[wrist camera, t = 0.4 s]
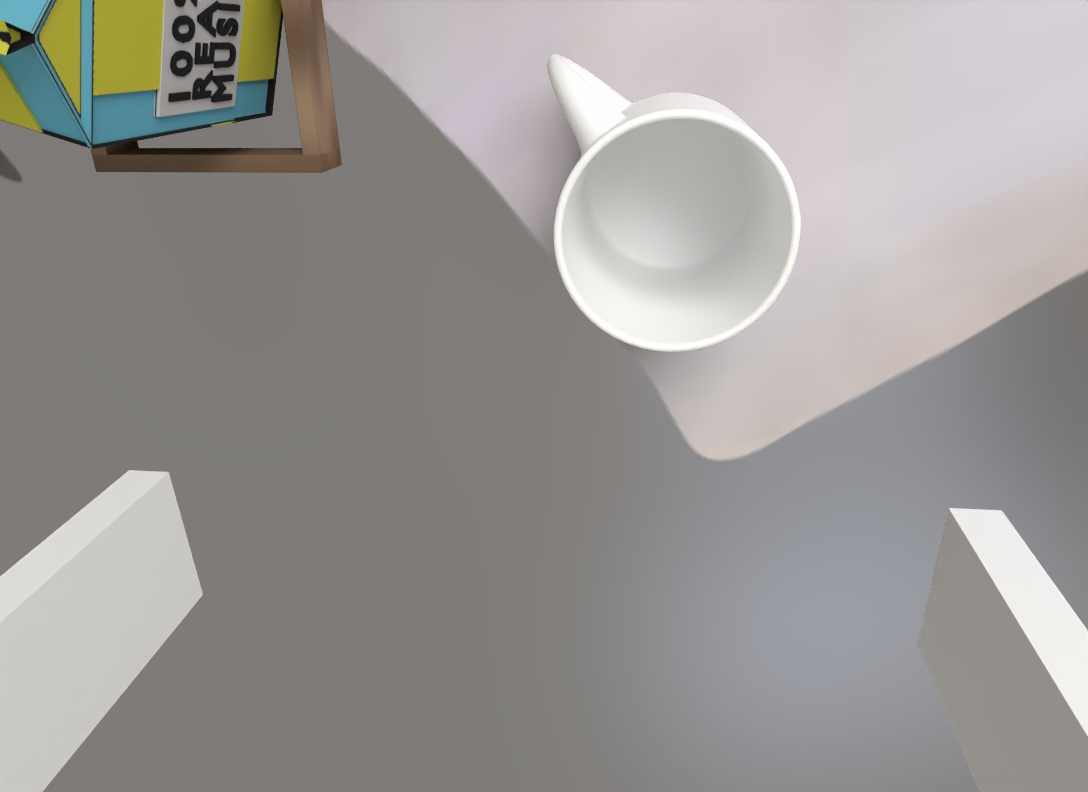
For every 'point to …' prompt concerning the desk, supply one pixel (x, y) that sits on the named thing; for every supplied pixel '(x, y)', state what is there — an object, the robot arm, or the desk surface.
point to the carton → (136, 66)
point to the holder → (314, 155)
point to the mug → (669, 216)
